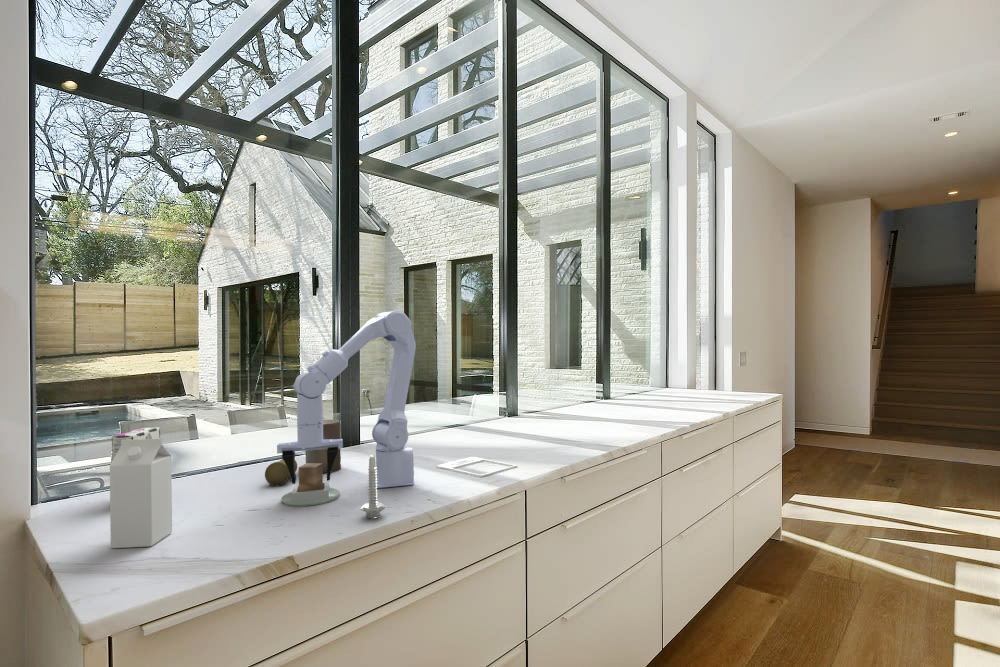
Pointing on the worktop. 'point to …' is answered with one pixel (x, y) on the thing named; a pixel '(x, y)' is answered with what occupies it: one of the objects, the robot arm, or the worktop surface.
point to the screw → (372, 492)
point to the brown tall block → (311, 477)
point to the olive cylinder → (278, 473)
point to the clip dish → (310, 496)
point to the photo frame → (472, 461)
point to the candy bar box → (134, 437)
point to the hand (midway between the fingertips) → (311, 481)
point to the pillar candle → (320, 456)
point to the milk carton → (140, 494)
